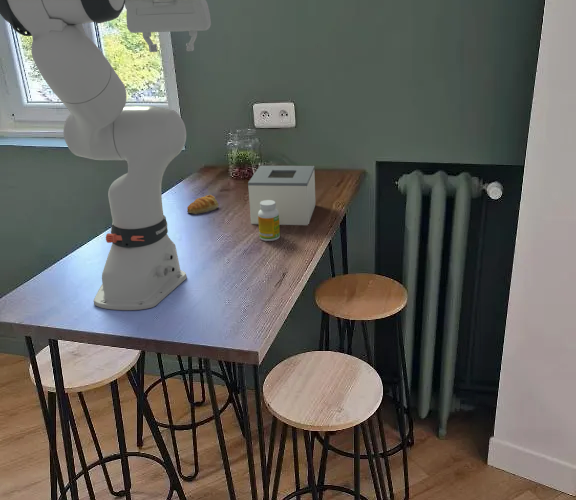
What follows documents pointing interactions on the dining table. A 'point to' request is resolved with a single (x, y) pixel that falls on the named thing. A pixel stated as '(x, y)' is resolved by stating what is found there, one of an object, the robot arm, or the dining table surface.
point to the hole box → (284, 192)
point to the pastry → (203, 205)
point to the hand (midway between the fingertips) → (171, 51)
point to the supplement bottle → (268, 221)
